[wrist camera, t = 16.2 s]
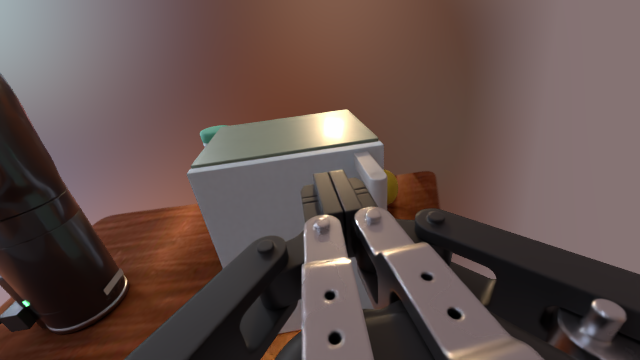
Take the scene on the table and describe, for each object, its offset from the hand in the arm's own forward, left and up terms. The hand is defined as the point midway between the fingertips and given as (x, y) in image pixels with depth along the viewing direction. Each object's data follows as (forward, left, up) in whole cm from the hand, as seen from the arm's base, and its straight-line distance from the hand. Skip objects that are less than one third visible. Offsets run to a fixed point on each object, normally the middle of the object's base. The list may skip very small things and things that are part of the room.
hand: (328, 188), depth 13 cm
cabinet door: (-2, +6, -23) cm, 24 cm away
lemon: (+14, +31, -24) cm, 41 cm away
